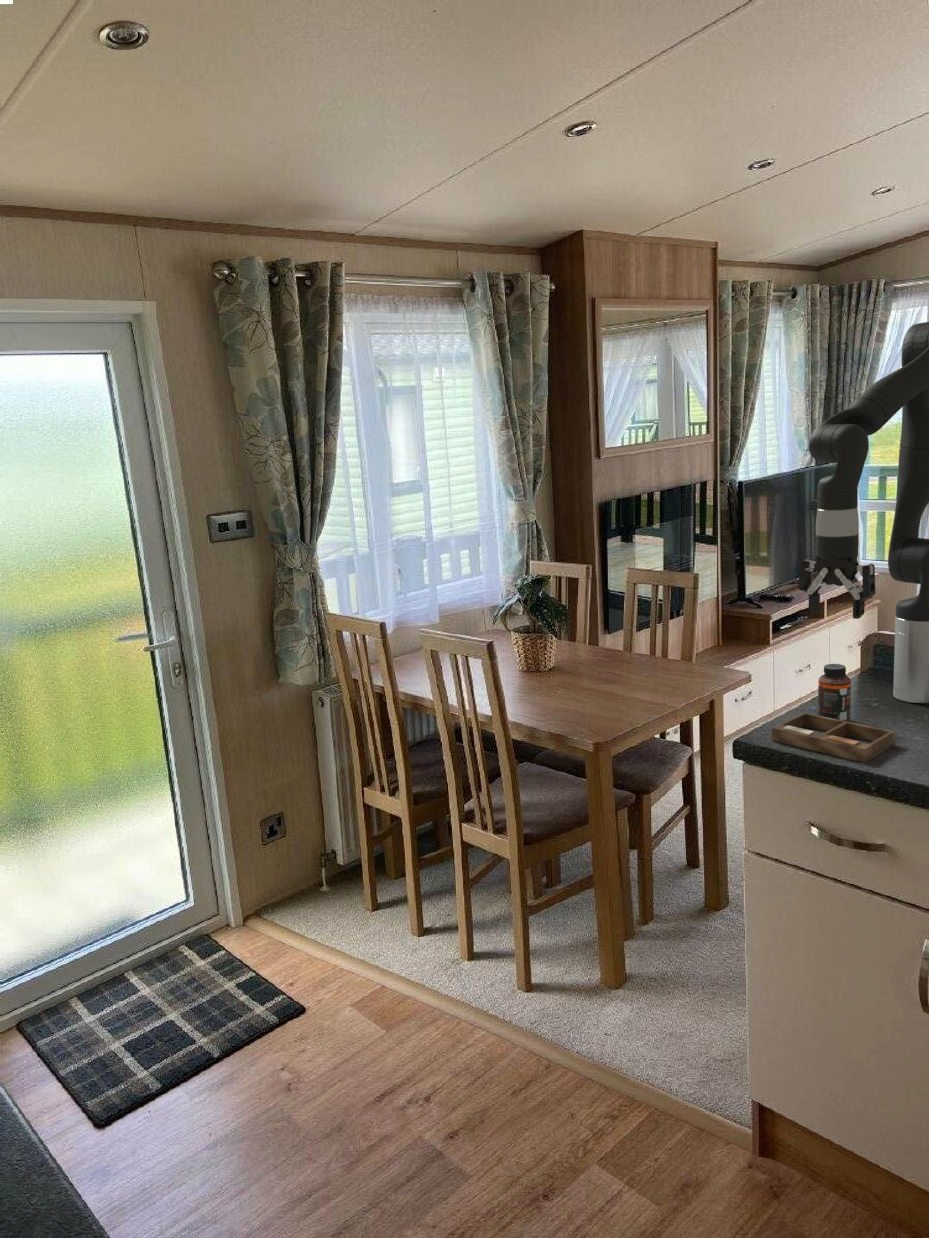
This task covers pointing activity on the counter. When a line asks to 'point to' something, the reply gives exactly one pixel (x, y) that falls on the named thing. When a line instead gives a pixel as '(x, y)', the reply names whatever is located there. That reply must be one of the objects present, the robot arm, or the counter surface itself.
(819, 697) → the supplement bottle
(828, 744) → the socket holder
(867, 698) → the counter surface
